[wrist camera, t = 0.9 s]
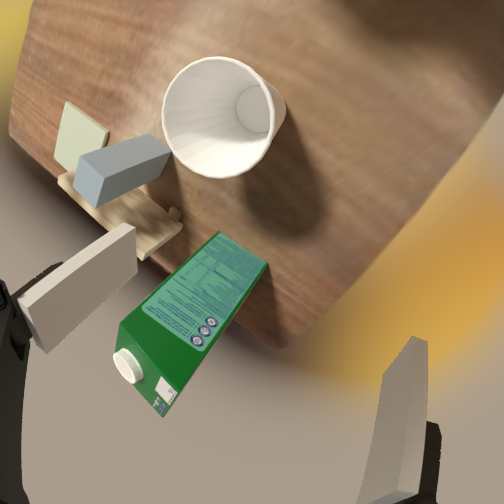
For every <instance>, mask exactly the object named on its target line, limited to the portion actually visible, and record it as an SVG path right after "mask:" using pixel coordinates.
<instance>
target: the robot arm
mask: <svg viewBox="0 0 504 504" xmlns="http://www.w3.org/2000/svg"><path fill="white" fill-rule="evenodd" d="M135 274H137V254H136V227H133V226H131V225H129V224H126V223H122V224H121V225H119V226H118V227H116V228H115V229H113V230H111V231H110V232H108V233H107V234H105V235H104V236H102V237H101V238H99V239H98V240H97V241H95V242H94V243H92V244H91V245H89V246H88V247H86V248H85V249H83V250H82V251H80V252H79V253H78V254H76V255H75V256H74V257H72V258H71V259H69V260H68V261H66V262H65V263H63V262H59V263H57V264H54V265H51V266H50V267H48V268H47V269H46V270H44V271H43V273H40V274H39V275H38V276H36V278H33V279H32V280H31V281H29V282H28V283H27V284H26V285H24V286H23V287H22V288H20V289H19V290H18V291H16V292H15V293H14V294H12V295H11V296H10V295H9V293H8V289H7V287H6V284H5V282H4V281H2V280H1V279H0V504H29V500H28V497H27V495H26V493H25V491H24V489H23V486H22V469H21V431H22V411H23V398H24V388H25V379H26V371H27V363H28V356H29V349H30V341H29V339H30V338H31V337H33V338H34V340H35V342H36V344H37V346H38V347H40V348H41V349H42V350H43V351H44V352H45V353H47V354H48V353H49V352H50V351H51V350H52V349H53V348H55V347H56V346H57V345H58V344H59V343H60V342H61V341H62V340H63V339H64V338H65V337H66V336H67V335H68V334H69V333H70V332H72V331H73V330H74V328H76V327H77V326H78V325H79V324H80V323H81V322H82V321H83V320H84V319H86V318H87V317H88V316H89V315H90V314H91V313H92V312H93V311H94V310H95V309H97V308H98V307H99V306H100V305H101V304H102V303H103V302H104V301H106V299H108V298H109V297H110V296H111V295H112V294H113V293H115V292H116V291H117V290H118V289H119V288H120V287H121V286H123V285H124V284H125V283H126V282H127V281H128V280H130V279H131V278H132V277H133V276H134V275H135ZM427 393H428V350H427V341H424V340H422V339H419V338H416V337H413V336H412V337H411V338H410V340H409V341H408V343H407V344H406V346H405V347H404V348H403V349H402V351H401V352H400V353H399V355H398V356H397V358H396V359H395V360H394V362H393V363H392V364H391V365H390V367H389V368H388V369H387V370H386V372H385V373H384V374H383V379H382V386H381V393H380V400H379V406H378V411H377V417H376V422H375V428H374V433H373V438H372V443H371V447H370V452H369V456H368V461H367V465H366V469H365V473H364V477H363V481H362V485H361V489H360V492H359V496H358V500H357V503H356V504H437V503H436V491H437V484H438V475H439V466H440V461H439V460H440V455H441V452H440V450H441V440H442V436H441V433H440V429H439V426H438V424H436V423H432V422H428V421H426V418H427V396H428V394H427Z"/></svg>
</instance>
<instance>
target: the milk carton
mask: <svg viewBox="0 0 504 504" xmlns="http://www.w3.org/2000/svg"><path fill="white" fill-rule="evenodd" d="M267 266H268V263H266V262H265V261H263V260H262V259H260V258H259V257H257V256H256V255H254V254H253V253H251V252H250V251H248V250H246V249H245V248H243V247H242V246H240V245H239V244H237V243H236V242H234V241H233V240H231V239H230V238H228V237H227V236H225V235H224V234H222V233H221V232H219V231H218V232H217V233H216V234H215V235H214V236H212V237H211V238H210V239H209V240H208V241H207V242H206V243H205V244H204V245H202V246H201V247H200V248H199V249H198V250H197V251H196V252H195V253H194V254H193V255H192V256H190V257H189V258H188V259H187V260H186V261H185V262H184V263H183V264H182V265H181V266H180V267H178V268H177V269H176V270H175V271H174V272H173V273H172V274H171V275H170V276H169V277H168V278H167V279H166V280H164V281H163V282H162V283H161V284H160V285H159V286H158V287H157V288H156V289H155V290H154V291H153V292H152V293H151V294H149V295H148V296H147V297H146V298H145V299H144V300H143V301H142V302H141V303H140V304H139V305H138V306H137V307H136V308H135V309H134V310H133V311H132V312H131V313H130V314H128V316H126V317H125V319H123V320H122V321H121V322H120V324H119V330H118V336H117V342H116V349H115V354H114V355H113V359H114V362H115V365H116V367H117V368H118V370H119V372H120V373H121V374H122V376H123V377H124V378H125V379H126V380H127V381H128V382H130V383H132V384H133V385H134V386H135V388H136V389H137V390H138V391H139V392H140V393H141V395H143V397H144V398H145V399H146V400H147V401H148V402H149V403H150V405H151V406H152V407H153V408H154V409H155V410H156V411H157V412H158V413H159V414H160V415H161V417H164V416H165V415H166V413H167V412H168V410H169V409H170V408H171V406H172V405H173V404H174V402H175V401H176V399H177V398H178V396H179V395H180V394H181V392H182V391H183V389H184V388H185V386H186V385H187V384H188V382H189V381H190V379H191V378H192V377H193V375H194V374H195V372H196V371H197V369H198V368H199V366H200V365H201V364H202V362H203V361H204V359H205V358H206V357H207V355H208V354H209V352H210V350H211V349H212V348H213V346H214V345H215V344H216V342H217V341H218V339H219V338H220V336H221V335H222V333H223V332H224V330H225V329H226V328H227V326H228V325H229V323H230V322H231V320H232V319H233V317H234V316H235V314H236V313H237V312H238V310H239V309H240V307H241V306H242V304H243V303H244V301H245V300H246V298H247V297H248V295H249V294H250V292H251V291H252V289H253V288H254V286H255V284H256V283H257V281H258V280H259V278H260V277H261V275H262V274H263V272H264V271H265V269H266V268H267Z"/></svg>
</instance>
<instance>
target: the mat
mask: <svg viewBox="0 0 504 504" xmlns="http://www.w3.org/2000/svg"><path fill="white" fill-rule="evenodd" d="M108 134H109V131H108V130H107V129H105V128H104V127H103V126H101V125H100V124H99V123H97V122H96V121H95V120H93V119H92V118H91V117H89V116H88V115H86V114H85V113H84V112H82V111H81V110H80V109H78V108H77V107H76V106H74V105H73V104H72V103H70V102H69V101H68V102H66V103H65V107H64V111H63V115H62V119H61V124H60V128H59V133H58V138H57V143H56V148H55V154H54V158H55V159H56V160H57V161H58V162H59V163H60V164H61V165H62V166H63V167H64V168H65V169H66V170H67V171H68V172H69V171H72V170H74V169H77V165H78V161H79V157H80V156H81V155H84V154H86V153H89V152H92V151H95V150H98V149H101V148H104V147H105V143H106V140H107V137H108Z"/></svg>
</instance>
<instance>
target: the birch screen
mask: <svg viewBox="0 0 504 504" xmlns="http://www.w3.org/2000/svg"><path fill="white" fill-rule="evenodd" d="M75 173H76V169H74V170H72V171H69V172H67V173H64V174H62V175H60V176H59V177H58V184H59V185H60V186H61V187H62V188H63V189H64V190H65V191H66V192H67V193H68V194H69V195H70V196H71V197H72V198H73V199H74V200H75V201H76V202H77V203H79V204H80V205H81V206H82V207H83V208H84V209H85V210H86V211H87V212H88V213H89V214H90V215H91V216H92V217H93V218H95V219H96V220H97V221H98V222H99V223H100V224H101V225H102V226H103V227H104V228H106V229H107V230H108V231H109V232H110V231H111V230H113V229H115V228H116V227H118V226H119V225H121V224H122V223H126V224H129V225H131V226H133V227H136V254H137V257H138V258H140V259H141V260H142V261H143V260H144V259H145V258H146V257H148V256H149V255H150V254H152V253H153V252H154V251H155V250H157V249H158V248H159V247H161V246H162V245H163V244H164V243H166V242H167V241H168V240H170V239H171V238H172V237H173V236H175V235H176V234H177V233H179V232H180V231H181V229H182V227H183V224H182V223H181V222H179V220H180V218H181V216H182V214H183V213H182V212H181V211H179V210H178V209H177V208H176V207H174V206H172V207H170V210H169V212H167V211H166V210H164V209H163V208H162V207H161V206H159V205H158V204H157V203H156V202H154V201H153V200H152V199H151V198H149V197H148V196H147V195H146V194H144V193H143V192H142V191H141V190H139V189H138V188H135V189H133V190H131V191H129V192H127V193H125V194H123V195H121V196H119V197H117V198H115V199H113V200H111V201H110V202H108V203H106V204H104V205H102V206H100V207H98V208H96V209H95V208H94V207H93V206H92V205H91V204H90V203H89V202H87V201H86V200H85V199H84V198H83V197H82V196H81V195H80V194H79V193H78V192H77V191H76V190H75V189H74V188H73V187H72V186H73V182H74V177H75Z"/></svg>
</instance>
